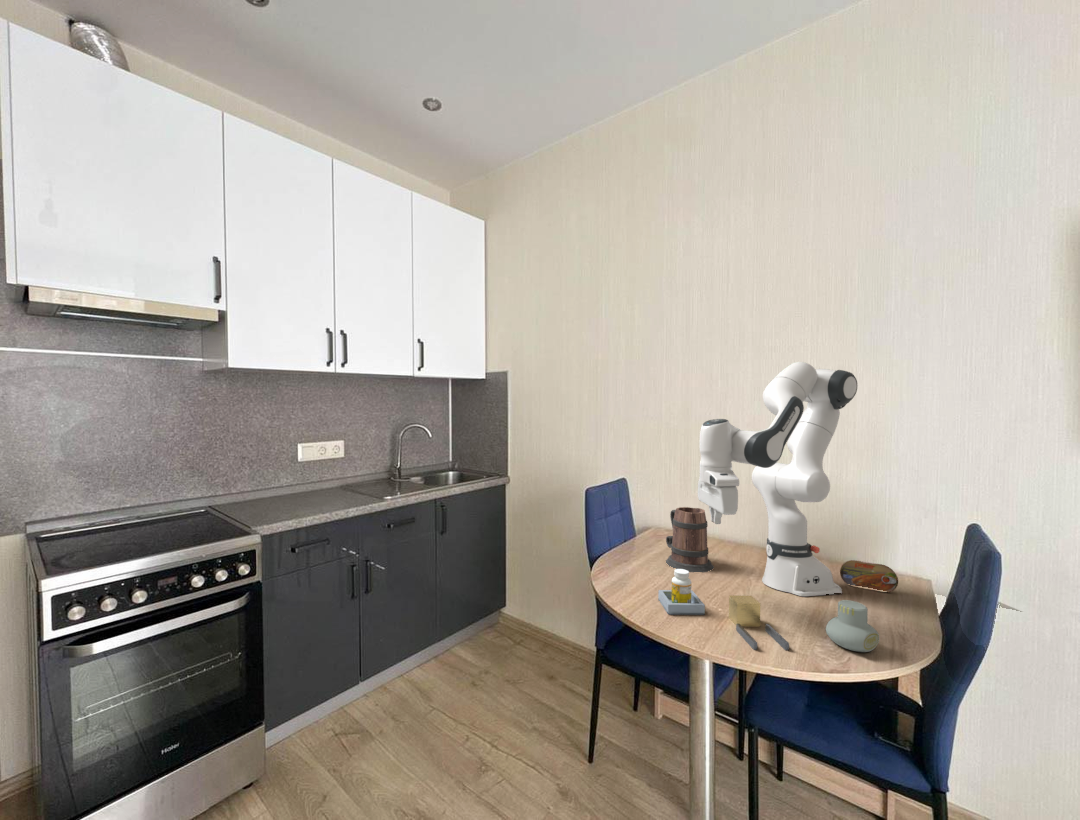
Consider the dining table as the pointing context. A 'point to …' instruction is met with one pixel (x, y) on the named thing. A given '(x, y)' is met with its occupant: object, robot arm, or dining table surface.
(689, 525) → the tankard
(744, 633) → the piston track
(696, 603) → the tray
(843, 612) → the grey rounded piece
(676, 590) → the supplement bottle
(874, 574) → the tin
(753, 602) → the block
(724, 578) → the dining table surface
